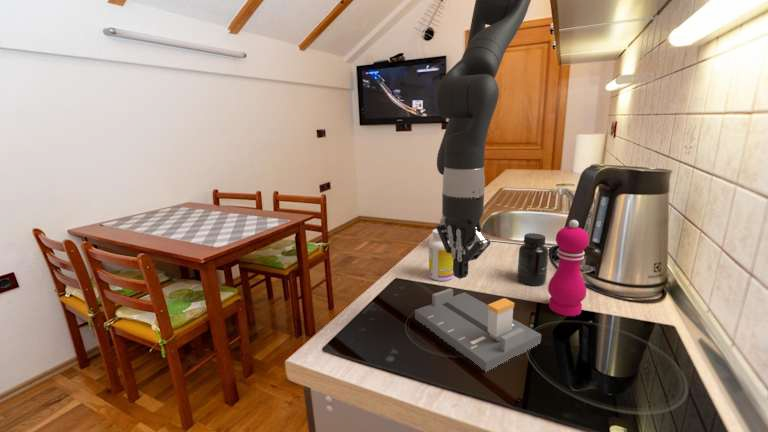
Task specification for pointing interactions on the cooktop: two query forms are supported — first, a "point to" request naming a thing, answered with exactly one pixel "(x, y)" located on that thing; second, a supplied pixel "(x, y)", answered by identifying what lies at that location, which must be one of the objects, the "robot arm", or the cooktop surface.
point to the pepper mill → (569, 271)
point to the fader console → (474, 329)
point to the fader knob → (500, 318)
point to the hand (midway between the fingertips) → (460, 276)
